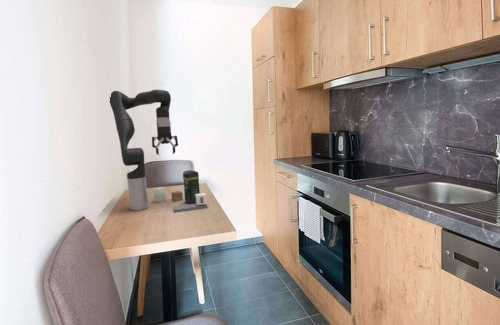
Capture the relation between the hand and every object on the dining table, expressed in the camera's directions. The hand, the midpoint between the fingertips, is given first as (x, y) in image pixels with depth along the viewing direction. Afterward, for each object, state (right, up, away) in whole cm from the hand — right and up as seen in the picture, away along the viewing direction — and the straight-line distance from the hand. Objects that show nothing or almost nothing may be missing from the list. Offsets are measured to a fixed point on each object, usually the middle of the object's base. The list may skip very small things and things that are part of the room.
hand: (165, 154), depth 164 cm
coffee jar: (+15, -28, +1) cm, 32 cm away
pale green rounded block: (-6, -28, +8) cm, 30 cm away
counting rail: (+17, -29, -12) cm, 36 cm away
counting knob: (+22, -27, -11) cm, 36 cm away
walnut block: (+5, -28, +8) cm, 29 cm away
